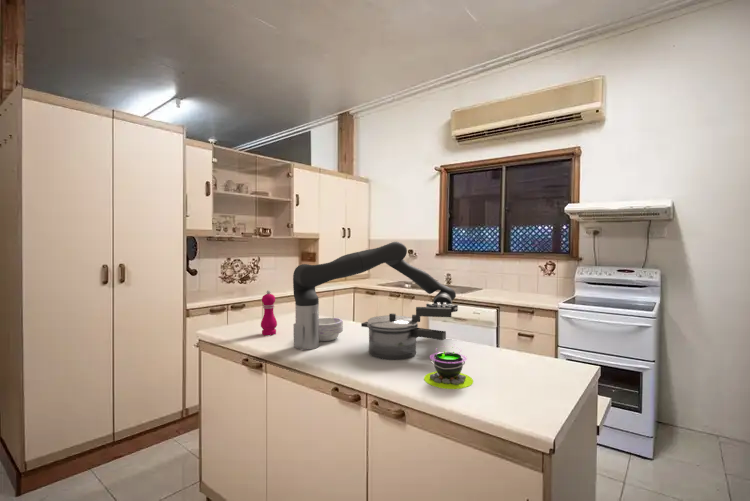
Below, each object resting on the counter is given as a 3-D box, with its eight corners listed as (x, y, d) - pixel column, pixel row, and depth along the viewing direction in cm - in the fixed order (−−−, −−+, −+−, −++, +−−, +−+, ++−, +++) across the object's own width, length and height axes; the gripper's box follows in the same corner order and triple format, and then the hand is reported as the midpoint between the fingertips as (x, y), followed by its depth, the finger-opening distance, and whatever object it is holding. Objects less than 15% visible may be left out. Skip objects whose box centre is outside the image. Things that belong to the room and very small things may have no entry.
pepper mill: (274, 336, 175) (274, 291, 174) (258, 335, 175) (258, 291, 174) (279, 332, 182) (278, 289, 181) (263, 332, 182) (263, 289, 181)
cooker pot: (350, 353, 148) (350, 324, 147) (377, 342, 164) (376, 316, 164) (433, 369, 130) (433, 336, 129) (454, 354, 146) (454, 325, 145)
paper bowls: (303, 336, 174) (303, 318, 173) (336, 332, 180) (336, 315, 180) (313, 345, 160) (313, 325, 160) (348, 340, 166) (347, 322, 166)
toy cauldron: (416, 384, 117) (416, 347, 117) (433, 369, 131) (433, 336, 130) (466, 393, 110) (466, 354, 110) (478, 376, 124) (478, 341, 123)
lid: (363, 328, 141) (363, 311, 140) (372, 317, 159) (371, 302, 159) (452, 330, 136) (452, 313, 136) (450, 319, 155) (450, 304, 154)
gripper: (426, 294, 165) (423, 301, 148) (458, 295, 162) (458, 302, 146) (427, 312, 166) (423, 321, 149) (459, 313, 163) (458, 322, 146)
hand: (440, 311), depth 147 cm, fingers closed
